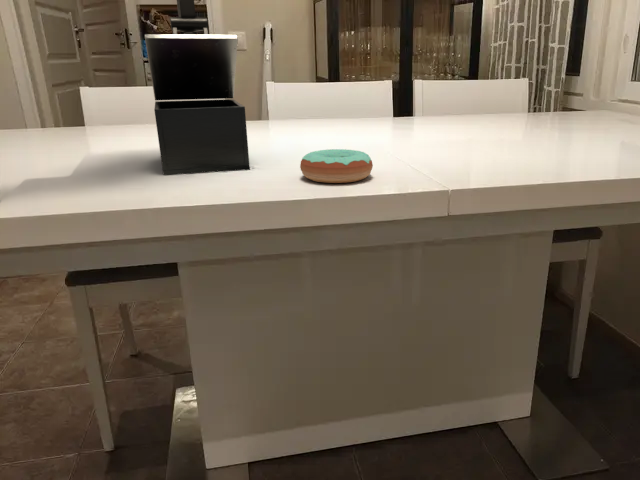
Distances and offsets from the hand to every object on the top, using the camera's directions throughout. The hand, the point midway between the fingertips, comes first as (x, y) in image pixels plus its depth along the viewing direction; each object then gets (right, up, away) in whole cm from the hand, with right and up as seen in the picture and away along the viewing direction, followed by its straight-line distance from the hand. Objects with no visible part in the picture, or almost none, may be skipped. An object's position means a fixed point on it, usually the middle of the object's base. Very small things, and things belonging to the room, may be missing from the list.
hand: (192, 70), depth 101 cm
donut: (+27, -21, -9) cm, 35 cm away
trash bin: (+1, -16, +3) cm, 17 cm away
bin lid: (+1, -1, -2) cm, 3 cm away
